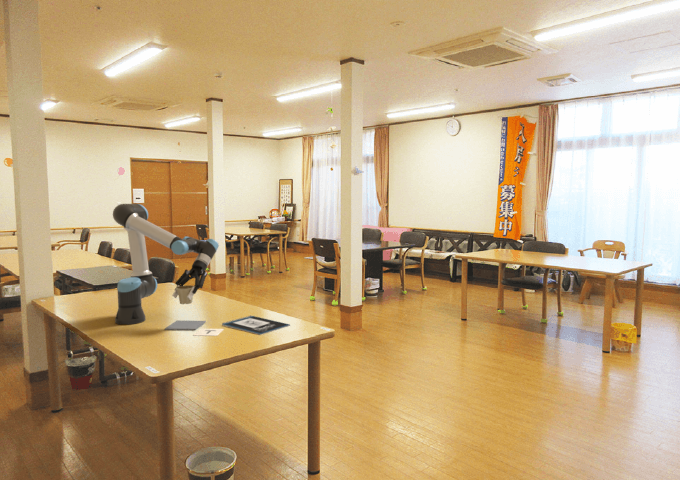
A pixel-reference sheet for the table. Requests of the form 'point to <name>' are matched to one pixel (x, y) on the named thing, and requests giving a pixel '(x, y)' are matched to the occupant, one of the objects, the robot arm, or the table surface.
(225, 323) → the sketchbook
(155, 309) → the table surface
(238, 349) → the table surface
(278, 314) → the table surface
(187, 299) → the flower pot
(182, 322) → the rubber mat
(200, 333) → the letter tile
